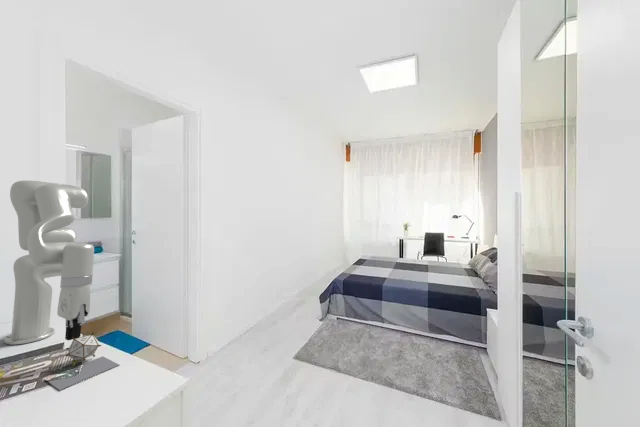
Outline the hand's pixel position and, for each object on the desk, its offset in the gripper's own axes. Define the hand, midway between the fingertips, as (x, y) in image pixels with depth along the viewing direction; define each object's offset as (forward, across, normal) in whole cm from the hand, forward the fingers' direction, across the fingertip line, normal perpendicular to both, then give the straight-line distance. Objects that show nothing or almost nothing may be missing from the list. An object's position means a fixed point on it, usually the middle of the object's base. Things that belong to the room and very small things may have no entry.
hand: (72, 338), depth 82 cm
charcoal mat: (+8, +11, -1) cm, 13 cm away
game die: (+5, 0, 0) cm, 5 cm away
